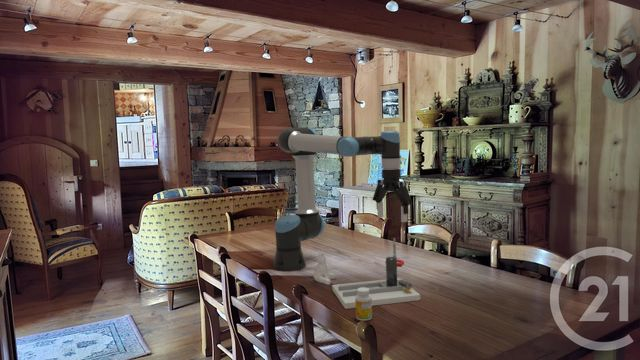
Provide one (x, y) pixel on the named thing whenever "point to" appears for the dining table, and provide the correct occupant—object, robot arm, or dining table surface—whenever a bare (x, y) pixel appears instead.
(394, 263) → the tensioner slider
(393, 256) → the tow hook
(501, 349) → the dining table surface
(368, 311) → the supplement bottle
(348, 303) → the rail board
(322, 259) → the white creature statuette
